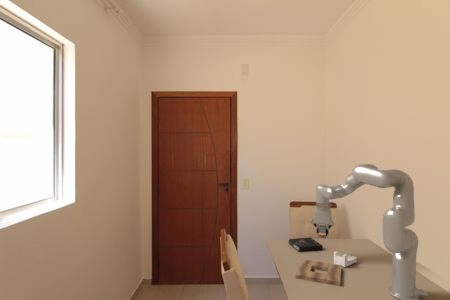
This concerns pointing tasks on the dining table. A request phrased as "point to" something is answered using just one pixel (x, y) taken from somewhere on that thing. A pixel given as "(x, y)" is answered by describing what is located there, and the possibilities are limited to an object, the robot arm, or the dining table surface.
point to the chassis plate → (307, 274)
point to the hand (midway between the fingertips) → (322, 234)
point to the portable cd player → (305, 244)
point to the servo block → (322, 231)
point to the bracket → (344, 259)
